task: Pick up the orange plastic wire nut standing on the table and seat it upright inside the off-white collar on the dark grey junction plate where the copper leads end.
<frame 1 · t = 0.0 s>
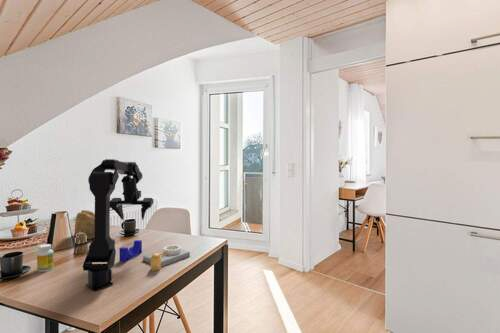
hand: (133, 219, 133), 15 cm above the table, tool pointing down, fingers open, 9 cm apart
supplement bottle: (45, 269, 112), on the table
cable clip: (129, 257, 127), on the table
rough brown rock: (91, 237, 156), on the table
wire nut: (156, 268, 114), on the table
junction plate: (166, 258, 126), on the table
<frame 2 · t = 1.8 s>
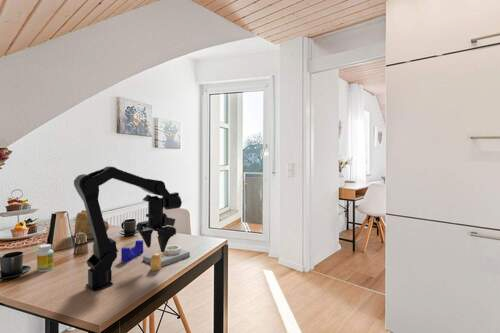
hand: (155, 249, 114), 8 cm above the table, tool pointing down, fingers open, 9 cm apart
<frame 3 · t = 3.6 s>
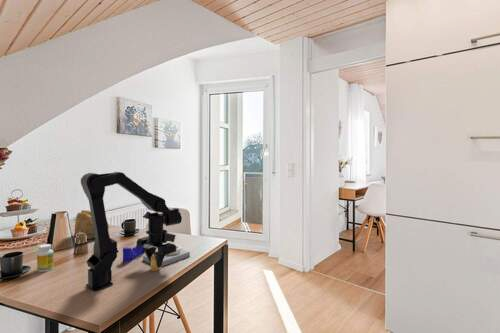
hand: (156, 266, 114), 1 cm above the table, tool pointing down, fingers closed on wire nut, 4 cm apart
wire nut: (156, 268, 114), on the table, touching gripper, junction plate
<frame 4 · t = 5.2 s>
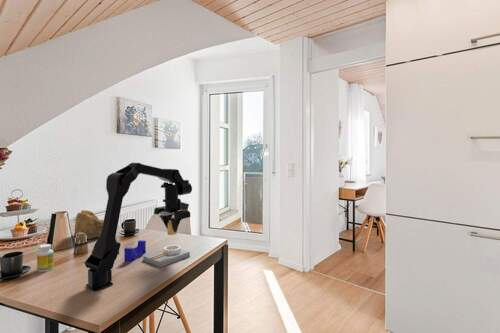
hand: (172, 231, 127), 12 cm above the table, tool pointing down, fingers closed on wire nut, 4 cm apart
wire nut: (172, 233, 127), point 11 cm above the table, touching gripper
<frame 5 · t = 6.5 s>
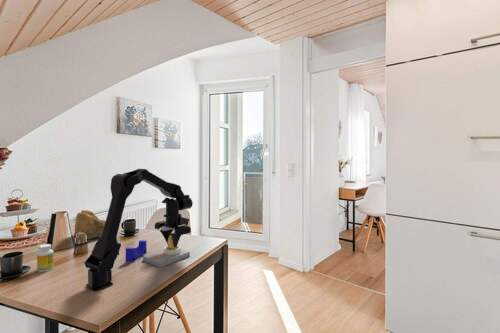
hand: (172, 246, 128), 5 cm above the table, tool pointing down, fingers closed on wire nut, 4 cm apart
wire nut: (172, 248, 128), point 4 cm above the table, touching gripper
when the fingers open (4 cm above the table, at t = 7.2 s): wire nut drops 1 cm, resting on junction plate.
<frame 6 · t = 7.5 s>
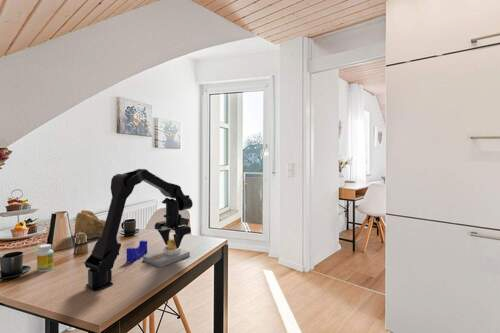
hand: (172, 246, 128), 4 cm above the table, tool pointing down, fingers open, 7 cm apart
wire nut: (172, 251, 128), point 2 cm above the table, touching junction plate
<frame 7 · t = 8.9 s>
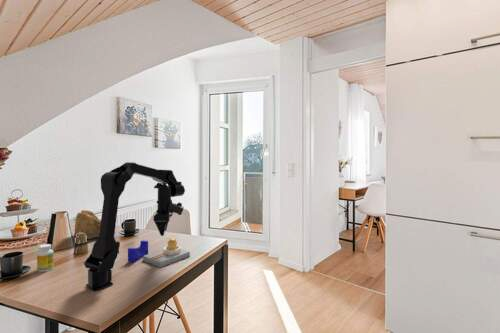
hand: (163, 233, 125), 11 cm above the table, tool pointing down, fingers open, 9 cm apart
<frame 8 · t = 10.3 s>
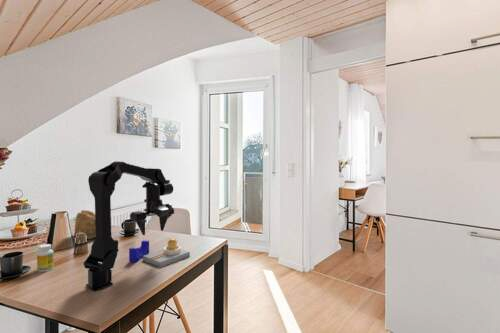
hand: (153, 232, 123), 12 cm above the table, tool pointing down, fingers open, 9 cm apart
at the end: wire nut 0.1 cm from the target spot on the junction plate, point 2.0 cm above the junction plate's base; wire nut tilted 0°; the gripper is holding nothing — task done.
